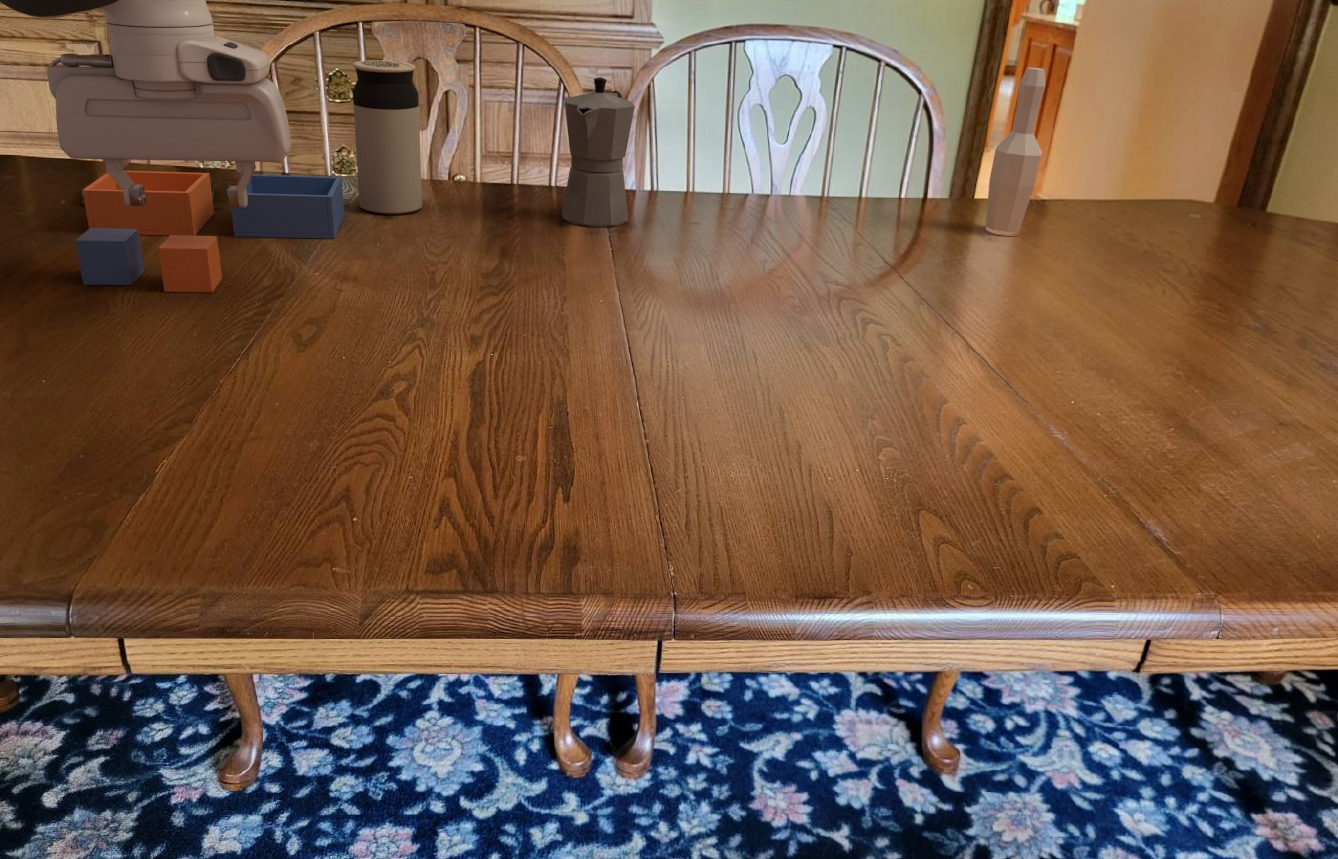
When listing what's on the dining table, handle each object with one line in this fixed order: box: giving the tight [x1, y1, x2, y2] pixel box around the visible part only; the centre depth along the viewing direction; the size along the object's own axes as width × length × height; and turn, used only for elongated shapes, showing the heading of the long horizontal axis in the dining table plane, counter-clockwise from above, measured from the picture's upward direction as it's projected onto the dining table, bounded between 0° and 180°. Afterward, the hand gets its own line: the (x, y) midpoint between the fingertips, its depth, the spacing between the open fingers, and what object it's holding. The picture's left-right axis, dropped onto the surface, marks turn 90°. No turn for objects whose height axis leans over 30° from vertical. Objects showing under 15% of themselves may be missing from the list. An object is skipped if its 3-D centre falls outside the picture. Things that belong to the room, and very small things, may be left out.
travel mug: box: [352, 59, 423, 216], centre depth 134 cm, size 8×8×18 cm
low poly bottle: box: [985, 67, 1046, 237], centre depth 144 cm, size 6×6×22 cm
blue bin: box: [230, 173, 345, 240], centre depth 126 cm, size 11×10×5 cm
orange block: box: [157, 235, 223, 293], centre depth 105 cm, size 4×4×4 cm
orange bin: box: [82, 170, 215, 236], centre depth 124 cm, size 11×10×5 cm
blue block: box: [75, 228, 145, 286], centre depth 105 cm, size 4×4×4 cm
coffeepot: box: [561, 77, 636, 228], centre depth 137 cm, size 15×9×18 cm, turn 165°
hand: (187, 205), depth 103 cm, fingers open, 8 cm apart
